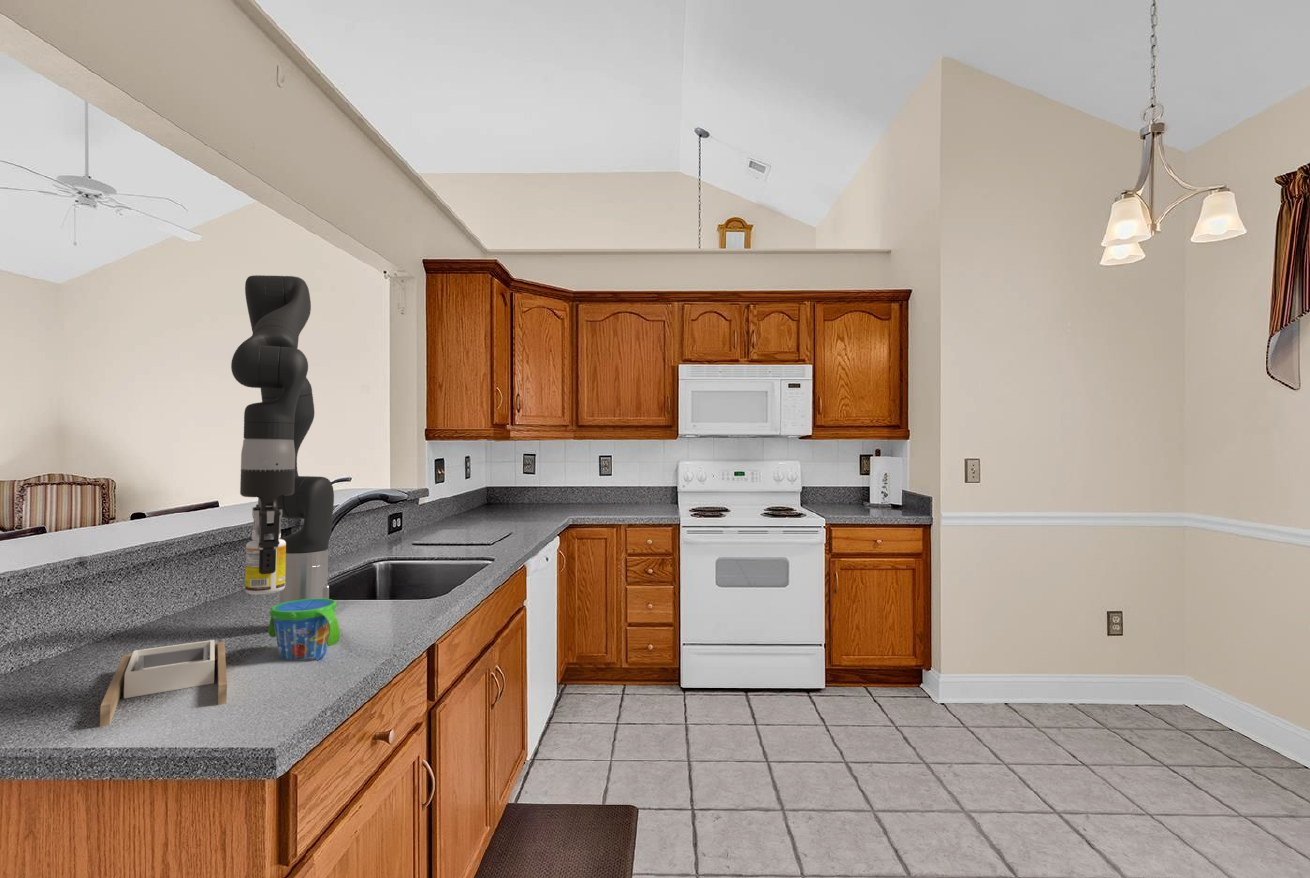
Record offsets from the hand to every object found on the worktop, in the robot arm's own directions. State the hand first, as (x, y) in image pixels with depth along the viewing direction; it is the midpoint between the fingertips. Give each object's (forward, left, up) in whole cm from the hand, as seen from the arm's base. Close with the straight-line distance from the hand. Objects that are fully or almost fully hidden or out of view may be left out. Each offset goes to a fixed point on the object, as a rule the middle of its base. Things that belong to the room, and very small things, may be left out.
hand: (265, 569), depth 100 cm
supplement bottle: (0, 0, -4) cm, 4 cm away
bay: (+12, -5, -19) cm, 23 cm away
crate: (+12, -10, -18) cm, 24 cm away
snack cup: (-7, -13, -19) cm, 24 cm away
